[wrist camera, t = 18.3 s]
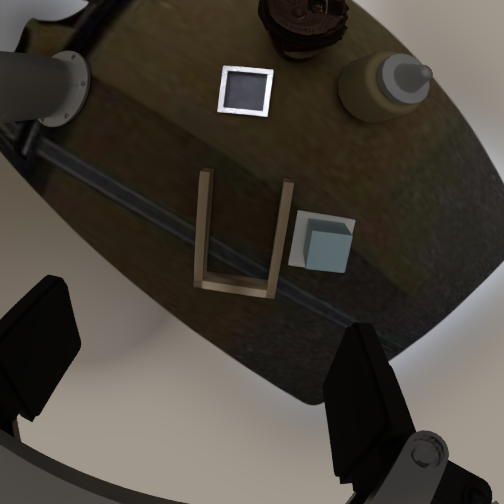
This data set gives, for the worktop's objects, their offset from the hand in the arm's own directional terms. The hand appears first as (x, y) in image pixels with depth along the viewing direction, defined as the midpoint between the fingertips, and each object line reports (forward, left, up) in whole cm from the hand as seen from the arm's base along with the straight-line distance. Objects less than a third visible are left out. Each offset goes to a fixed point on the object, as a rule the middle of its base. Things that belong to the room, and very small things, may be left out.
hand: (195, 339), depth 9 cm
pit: (-3, +11, -31) cm, 33 cm away
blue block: (+10, -7, -31) cm, 33 cm away
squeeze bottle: (+12, +13, -32) cm, 36 cm away
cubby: (-1, -7, -31) cm, 32 cm away
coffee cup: (+3, +19, -32) cm, 37 cm away
